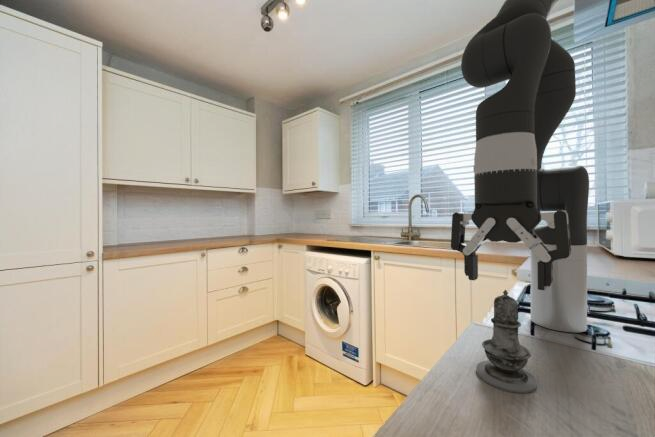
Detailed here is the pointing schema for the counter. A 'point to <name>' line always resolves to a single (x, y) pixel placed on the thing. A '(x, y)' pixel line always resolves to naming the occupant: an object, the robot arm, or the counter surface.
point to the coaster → (515, 388)
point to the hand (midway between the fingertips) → (505, 283)
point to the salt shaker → (506, 344)
